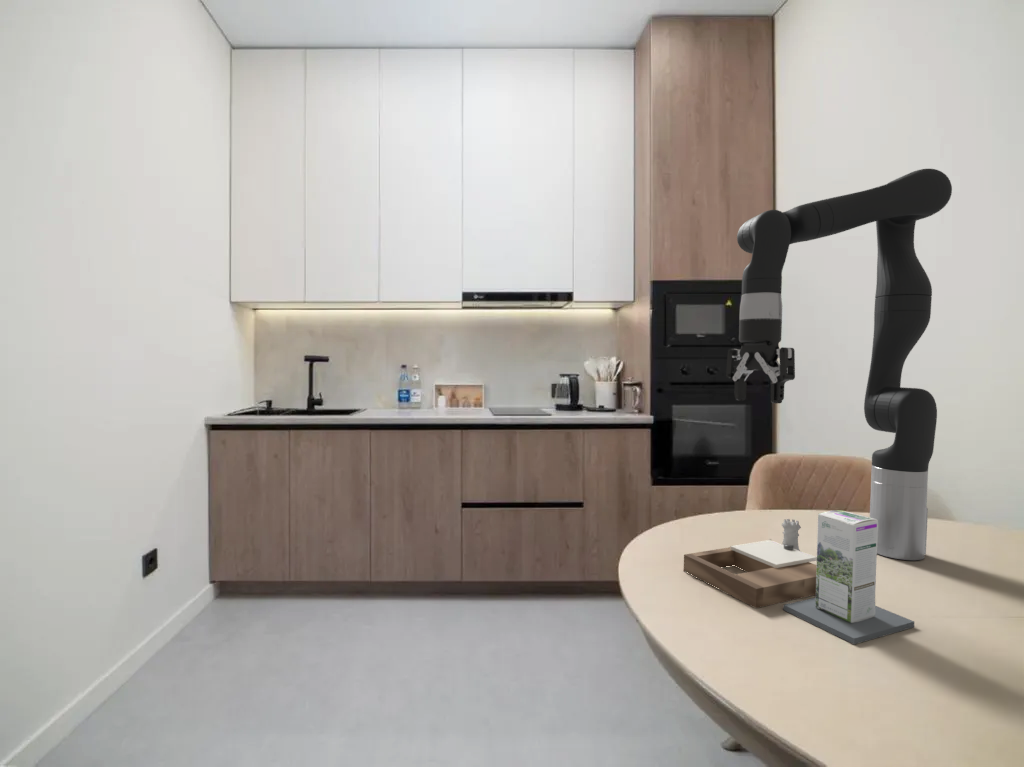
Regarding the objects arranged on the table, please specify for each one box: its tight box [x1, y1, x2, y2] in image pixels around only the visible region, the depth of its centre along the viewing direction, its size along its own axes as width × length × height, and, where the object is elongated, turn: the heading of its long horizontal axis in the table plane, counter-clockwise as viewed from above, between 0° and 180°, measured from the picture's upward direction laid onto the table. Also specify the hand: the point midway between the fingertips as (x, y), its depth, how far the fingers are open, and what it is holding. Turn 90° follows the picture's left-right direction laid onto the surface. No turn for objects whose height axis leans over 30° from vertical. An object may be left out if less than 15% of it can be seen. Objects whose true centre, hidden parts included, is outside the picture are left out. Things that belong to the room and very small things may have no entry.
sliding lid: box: [729, 539, 817, 568], centre depth 98 cm, size 10×10×1 cm
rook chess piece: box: [781, 518, 802, 551], centre depth 103 cm, size 4×4×8 cm
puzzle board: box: [683, 546, 817, 609], centre depth 94 cm, size 18×16×3 cm
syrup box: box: [815, 509, 878, 623], centre depth 80 cm, size 6×6×14 cm
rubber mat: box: [783, 596, 915, 645], centre depth 80 cm, size 13×11×1 cm
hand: (757, 401), depth 106 cm, fingers open, 8 cm apart
